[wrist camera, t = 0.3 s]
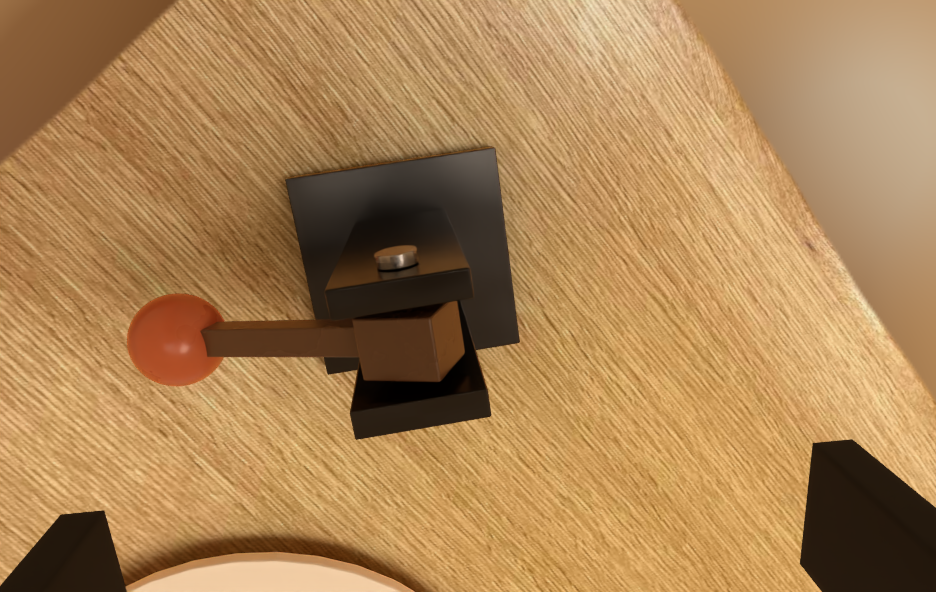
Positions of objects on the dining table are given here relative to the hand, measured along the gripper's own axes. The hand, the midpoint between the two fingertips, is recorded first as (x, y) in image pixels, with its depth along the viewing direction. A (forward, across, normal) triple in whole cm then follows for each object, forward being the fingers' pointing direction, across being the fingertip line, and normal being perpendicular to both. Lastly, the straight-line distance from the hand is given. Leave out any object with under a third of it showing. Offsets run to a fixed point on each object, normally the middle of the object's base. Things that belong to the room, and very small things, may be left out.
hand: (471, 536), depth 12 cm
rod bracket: (+22, -2, 0) cm, 22 cm away
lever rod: (+14, -5, 0) cm, 15 cm away
